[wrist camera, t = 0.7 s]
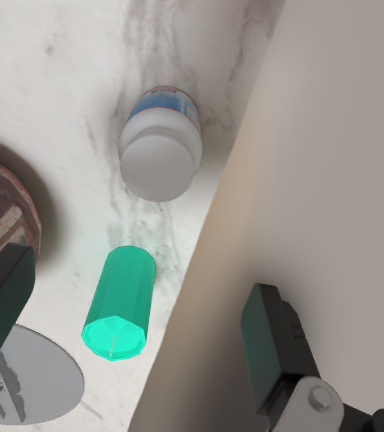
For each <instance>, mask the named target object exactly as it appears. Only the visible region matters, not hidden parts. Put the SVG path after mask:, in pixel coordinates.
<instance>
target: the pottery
mask: <svg viewBox="0 0 384 432" xmlns="http://www.w3.org/2000/svg"><path fill="white" fill-rule="evenodd" d="M8 242H15V243H21V244H27V245H32V246H33V247H34V257H35V265H36V263H37V261H38V259H39V256H40V250H41V222H40V217H39V214H38V212H37V209H36V207H35V205H34V202H33V200H32V198H31V195H30V193H29V191H28V190H27V189H26V188H25V186H24V185H23V184H22V183H21V181H20V180H19V179H18V178H17V177H16V175H15V174H14V173H12V172H11V171H10V170H8V169H7V168H6V167H4V166H3V165H2V164H0V251H1V250H2V249H3V247H4V246H5V245H6V244H7V243H8Z"/></svg>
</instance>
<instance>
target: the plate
mask: <svg viewBox="0 0 384 432" xmlns="http://www.w3.org/2000/svg"><path fill="white" fill-rule="evenodd" d="M83 392H84V378H83V375H82V372H81V370H80V368H79V366H78V365H77V363H76V362H75V361H74V359H73V358H72V357H71V356H70V355H69V354H68V353H67V352H66V351H65V350H63V349H62V348H61V347H60V346H58V345H57V344H55V343H54V342H52V341H51V340H49V339H48V338H46V337H44V336H42V335H40V334H38V333H36V332H34V331H32V330H30V329H28V328H25V327H22V326H20V325H17V324H14V326H13V328H12V330H11V331H10V333H9V335H8V337H7V338H6V340H5V342H4V344H3V346H2V347H1V349H0V424H2V425H29V424H37V423H42V422H46V421H50V420H54V419H56V418H58V417H61V416H63V415H65V414H66V413H68V412H69V411H71V410H72V409H74V408H75V406H76V405H77V404H78V403H79V401H80V400H81V398H82V395H83Z"/></svg>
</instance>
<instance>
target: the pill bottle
mask: <svg viewBox="0 0 384 432" xmlns="http://www.w3.org/2000/svg"><path fill="white" fill-rule="evenodd" d="M118 155H119V160H120V163H121V165H120V169H121V175H122V178H123V180H124V182H125V184H126V186H127V187H128V188H129V189H130V190H131V191H132V192H133V193H134V194H135V195H137V196H138V197H140V198H142V199H145V200H148V201H152V202H165V201H170V200H173V199H175V198H177V197H179V196H180V195H182V194H183V193H184V192H185V191H186V190H187V189H188V187H189V186H190V184H191V182H192V179H193V176H194V175H195V174H196V172H197V170H198V168H199V166H200V164H201V160H202V155H203V145H202V137H201V129H200V123H199V115H198V111H197V108H196V106H195V104H194V103H193V101H192V100H191V99H190V98H189V97H188V96H187V95H186V94H185V93H184V92H182V91H180V90H178V89H176V88H173V87H157V88H153V89H151V90H149V91H147V92H146V93H145V94H143V95H142V96H141V97H140V98H139V100H138V101H137V103H136V105H135V107H134V109H133V110H132V112H131V114H130V116H129V118H128V120H127V122H126V124H125V125H124V127H123V129H122V131H121V134H120V137H119V142H118Z"/></svg>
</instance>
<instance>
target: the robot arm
mask: <svg viewBox="0 0 384 432" xmlns="http://www.w3.org/2000/svg"><path fill="white" fill-rule="evenodd" d="M34 284H35V257H34V247H33V246H32V245H27V244H21V243H15V242H8V243H7V244H6V245H5V246H4V247H3V249H2V250H1V251H0V349H1V347H2V346H3V344H4V342H5V340H6V338H7V337H8V335H9V333H10V331H11V330H12V328H13V326H14V324H15V322H16V321H17V319H18V317H19V315H20V314H21V312H22V310H23V308H24V306H25V305H26V303H27V301H28V299H29V298H30V296H31V294H32V291H33V288H34ZM241 330H242V336H243V342H244V347H245V353H246V358H247V365H248V370H249V376H250V382H251V388H252V394H253V400H254V406H255V411H256V415H261V416H268V420H269V425H270V426H269V427H268V429H267V431H266V432H384V409H379V410H377V411H376V412H375V413H374V414H373V415H372V416H371V415H369V414H366V413H364V412H362V411H360V410H358V409H355V408H353V407H351V406H349V405H347V404H344V403H343V402H342V400H341V398H340V396H339V395H338V393H337V392H336V391H335V390H334V388H333V387H332V386H330V385H329V384H328V383H327V382H325V381H323V380H322V379H321V377H320V374H319V372H318V369H317V366H316V363H315V361H314V358H313V355H312V353H311V350H310V347H309V344H308V342H307V339H305V334H304V331H303V329H302V328H301V323H300V320H299V317H298V315H297V313H296V312H295V310H294V309H293V308H292V307H291V305H290V304H289V303H288V302H285V301H282V300H281V298H280V294H279V291H278V289H277V287H276V286H272V285H266V284H260V283H255V284H254V286H253V288H252V290H251V293H250V295H249V297H248V300H247V302H246V304H245V306H244V309H243V311H242V316H241Z"/></svg>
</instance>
